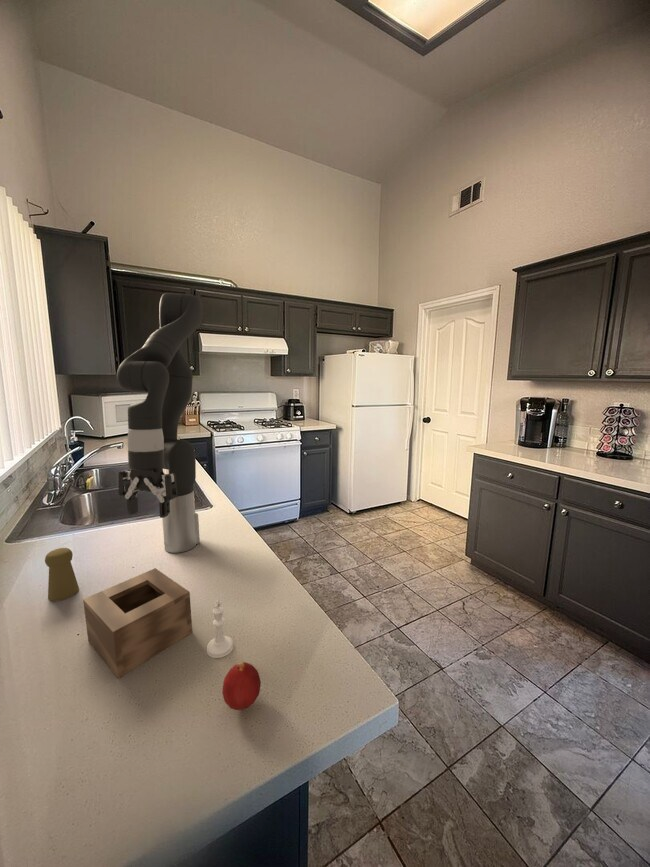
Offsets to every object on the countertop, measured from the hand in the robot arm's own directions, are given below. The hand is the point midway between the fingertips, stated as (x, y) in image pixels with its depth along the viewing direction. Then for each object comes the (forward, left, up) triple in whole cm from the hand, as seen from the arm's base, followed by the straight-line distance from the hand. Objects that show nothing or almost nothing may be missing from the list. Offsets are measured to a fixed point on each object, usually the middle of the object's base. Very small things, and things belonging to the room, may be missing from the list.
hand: (148, 515), depth 83 cm
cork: (+15, -15, -19) cm, 28 cm away
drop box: (+10, +14, -19) cm, 26 cm away
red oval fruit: (+7, +42, -19) cm, 47 cm away
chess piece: (+2, +29, -19) cm, 35 cm away
